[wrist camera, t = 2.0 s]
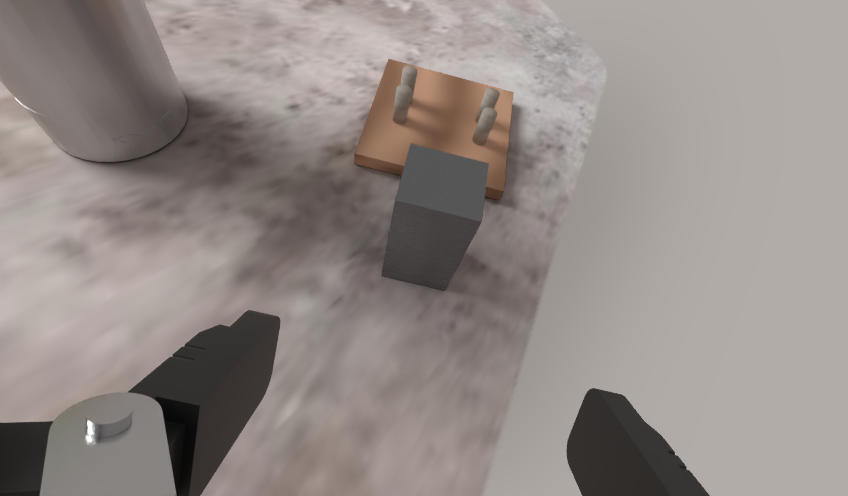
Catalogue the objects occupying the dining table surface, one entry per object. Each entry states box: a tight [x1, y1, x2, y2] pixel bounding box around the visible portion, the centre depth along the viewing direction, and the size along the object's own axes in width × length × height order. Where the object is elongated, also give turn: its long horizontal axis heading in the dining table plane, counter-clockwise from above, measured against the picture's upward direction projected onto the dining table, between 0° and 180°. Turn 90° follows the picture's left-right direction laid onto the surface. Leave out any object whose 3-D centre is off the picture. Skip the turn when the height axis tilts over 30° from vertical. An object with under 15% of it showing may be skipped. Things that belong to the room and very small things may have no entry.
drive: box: [382, 143, 489, 291], centre depth 25 cm, size 4×4×9 cm
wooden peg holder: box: [354, 59, 513, 200], centre depth 34 cm, size 12×12×4 cm
